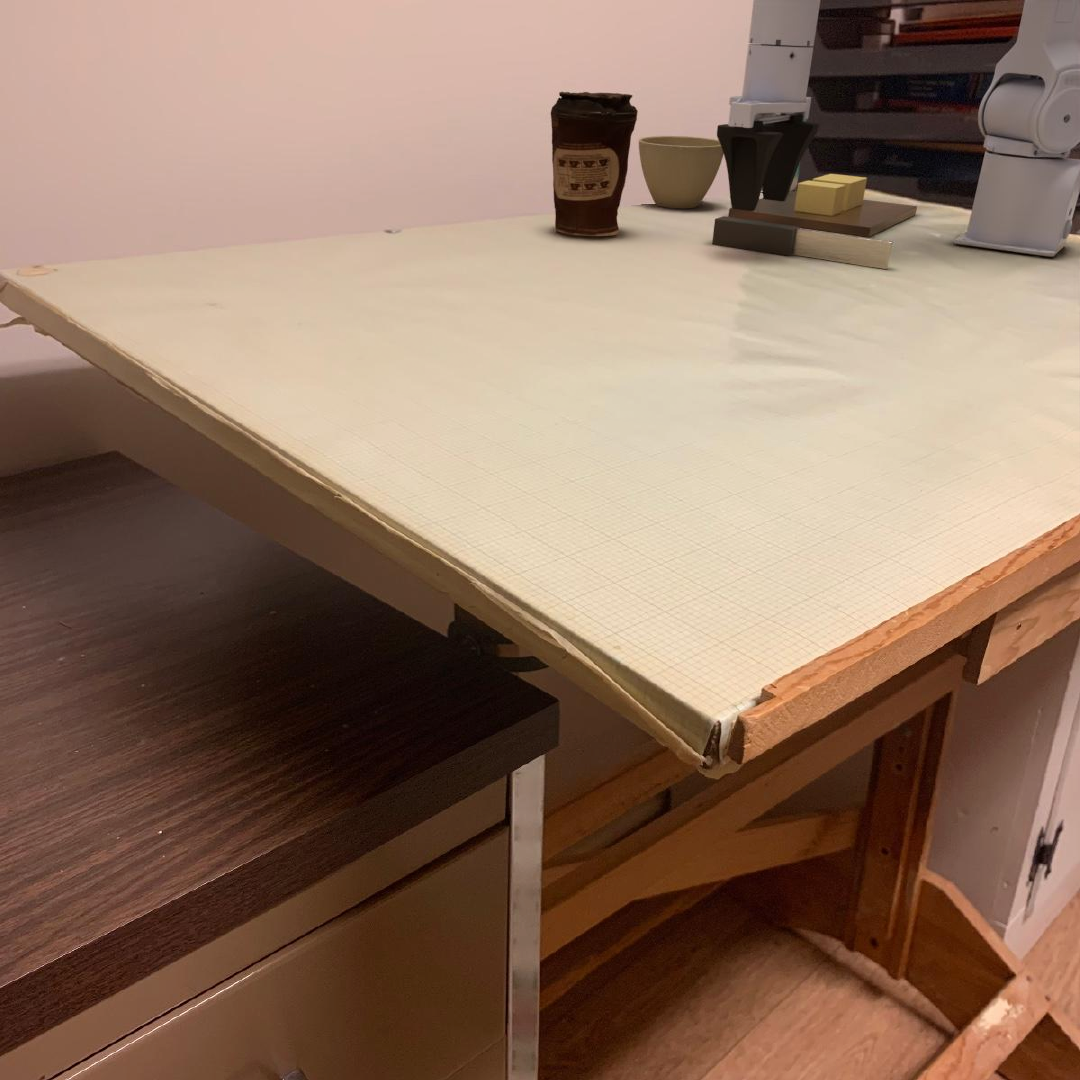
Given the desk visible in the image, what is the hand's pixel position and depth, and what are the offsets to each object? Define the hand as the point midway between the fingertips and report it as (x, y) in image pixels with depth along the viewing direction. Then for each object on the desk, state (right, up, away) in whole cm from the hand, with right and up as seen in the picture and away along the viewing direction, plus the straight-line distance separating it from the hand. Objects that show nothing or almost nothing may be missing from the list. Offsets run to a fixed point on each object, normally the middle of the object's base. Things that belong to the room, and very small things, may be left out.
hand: (759, 204), depth 94 cm
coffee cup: (-16, -1, +6) cm, 17 cm away
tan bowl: (-5, +8, +23) cm, 24 cm away
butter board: (+12, +5, +19) cm, 23 cm away
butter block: (+13, +7, +20) cm, 25 cm away
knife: (+3, -5, 0) cm, 6 cm away
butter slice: (+10, +5, +16) cm, 19 cm away
